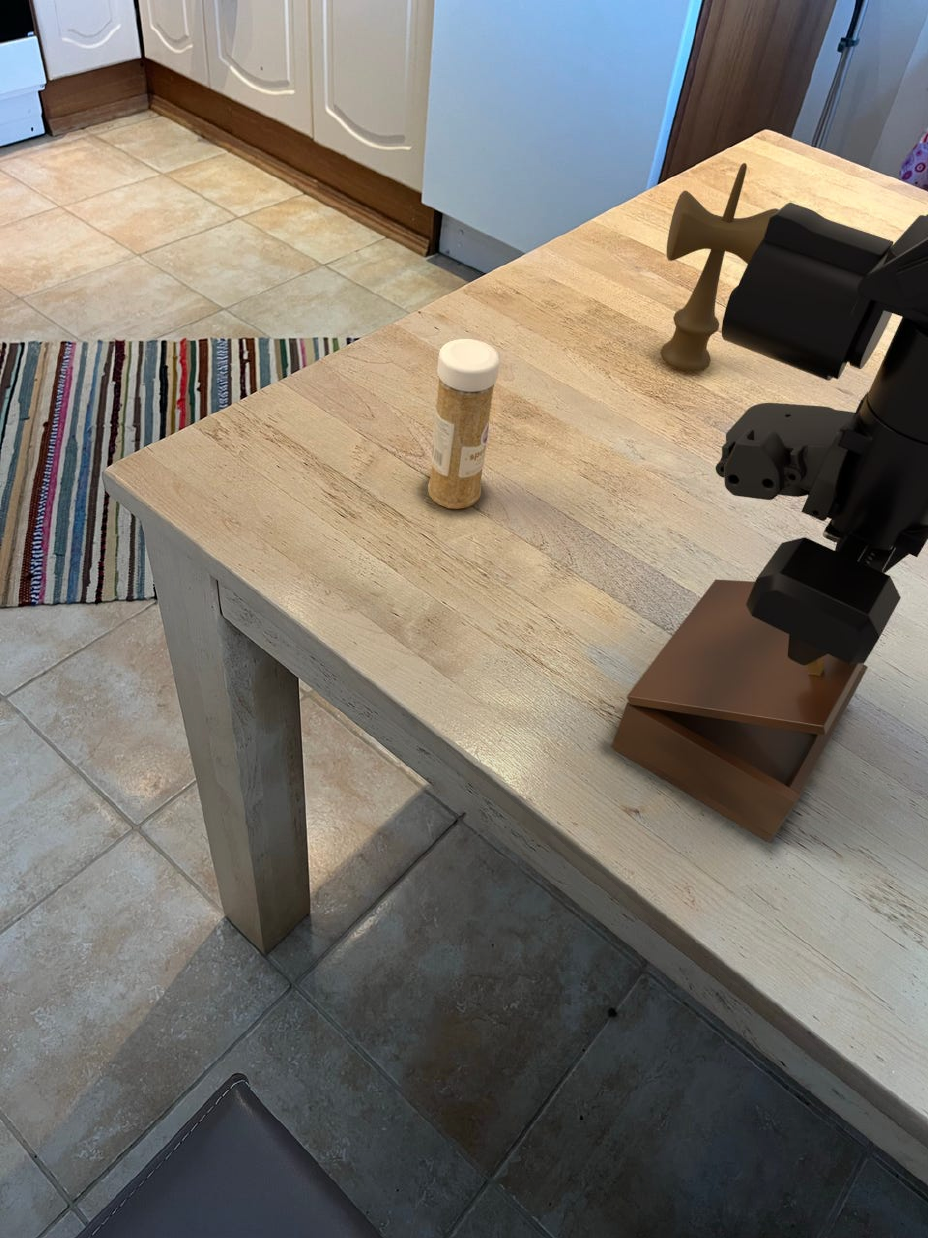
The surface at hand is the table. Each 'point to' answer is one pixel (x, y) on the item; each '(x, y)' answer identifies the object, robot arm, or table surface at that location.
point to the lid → (742, 670)
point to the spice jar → (461, 421)
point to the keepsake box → (727, 760)
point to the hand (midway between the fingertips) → (814, 631)
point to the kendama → (707, 269)
